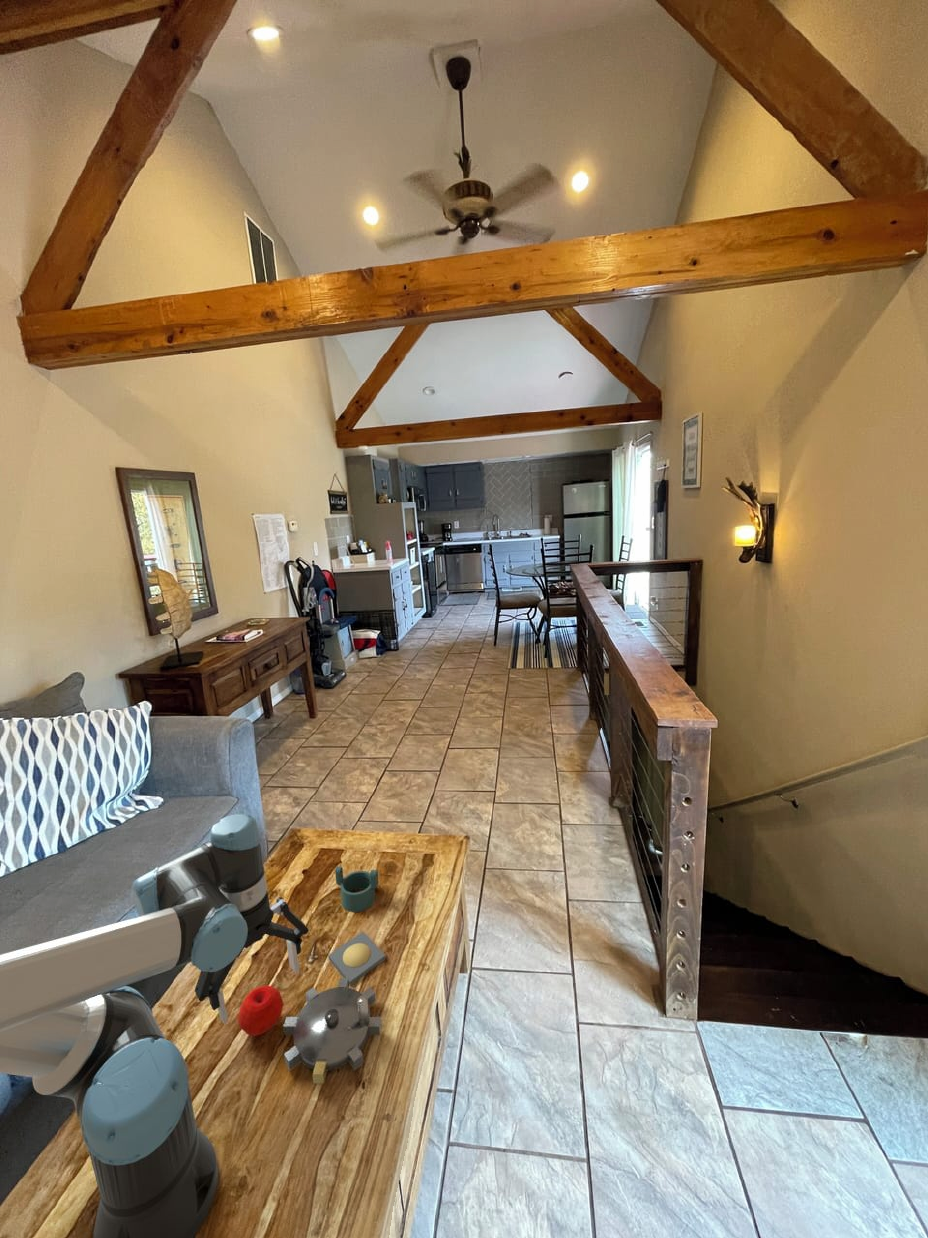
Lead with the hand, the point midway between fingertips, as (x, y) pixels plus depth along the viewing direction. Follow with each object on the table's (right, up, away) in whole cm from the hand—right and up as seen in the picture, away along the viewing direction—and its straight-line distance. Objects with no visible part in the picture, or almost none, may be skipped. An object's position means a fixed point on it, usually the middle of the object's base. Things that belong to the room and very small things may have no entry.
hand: (260, 992), depth 96 cm
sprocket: (+14, -8, 0) cm, 16 cm away
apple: (0, -8, +1) cm, 8 cm away
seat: (+15, -4, +15) cm, 22 cm away
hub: (+14, -8, 0) cm, 16 cm away
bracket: (+12, 0, +33) cm, 35 cm away
